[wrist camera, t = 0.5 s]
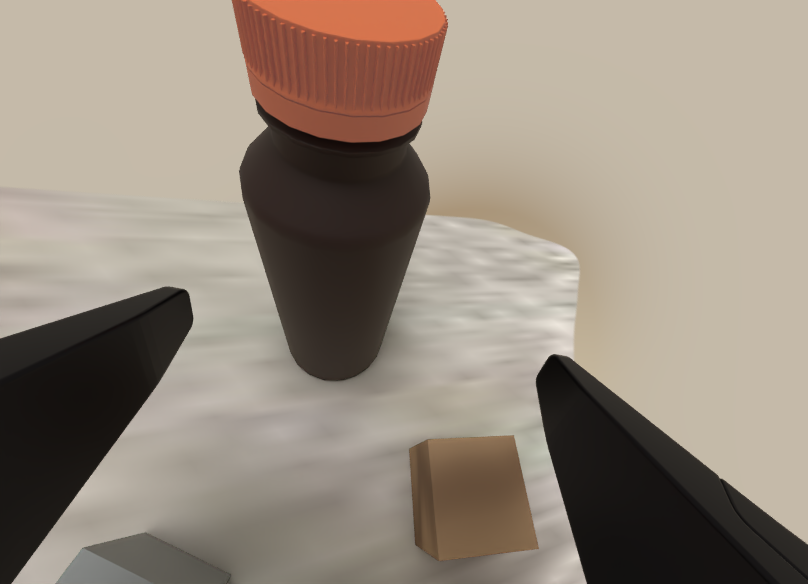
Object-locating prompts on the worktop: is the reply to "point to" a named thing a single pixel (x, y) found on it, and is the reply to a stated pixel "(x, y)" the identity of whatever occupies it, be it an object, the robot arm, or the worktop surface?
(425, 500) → the walnut cube
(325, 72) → the vinegar
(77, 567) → the slate cube
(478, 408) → the worktop surface
